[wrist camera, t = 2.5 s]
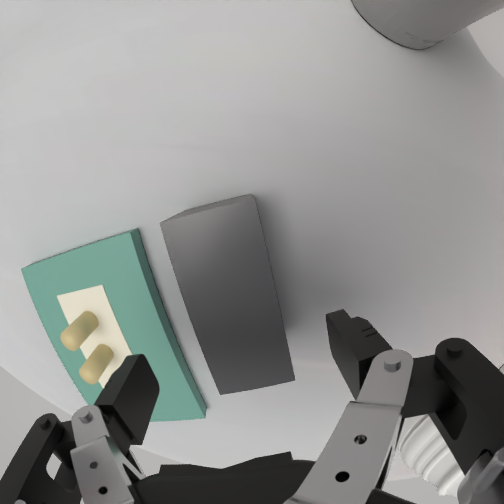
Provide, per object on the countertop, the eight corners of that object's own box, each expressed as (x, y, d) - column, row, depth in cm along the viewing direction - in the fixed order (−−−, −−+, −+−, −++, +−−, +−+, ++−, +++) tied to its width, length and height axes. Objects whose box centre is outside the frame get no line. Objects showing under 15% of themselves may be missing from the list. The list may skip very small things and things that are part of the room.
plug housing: (184, 210, 19) (159, 222, 13) (250, 193, 18) (254, 198, 13) (224, 343, 21) (220, 394, 15) (282, 331, 21) (295, 380, 15)
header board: (30, 264, 19) (-5, 282, 14) (137, 228, 19) (106, 243, 14) (104, 411, 23) (88, 443, 18) (206, 407, 23) (201, 447, 18)
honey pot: (482, 372, 25) (554, 447, 7) (430, 439, 27) (477, 519, 10) (433, 363, 23) (525, 475, 6) (370, 443, 26) (416, 554, 8)
